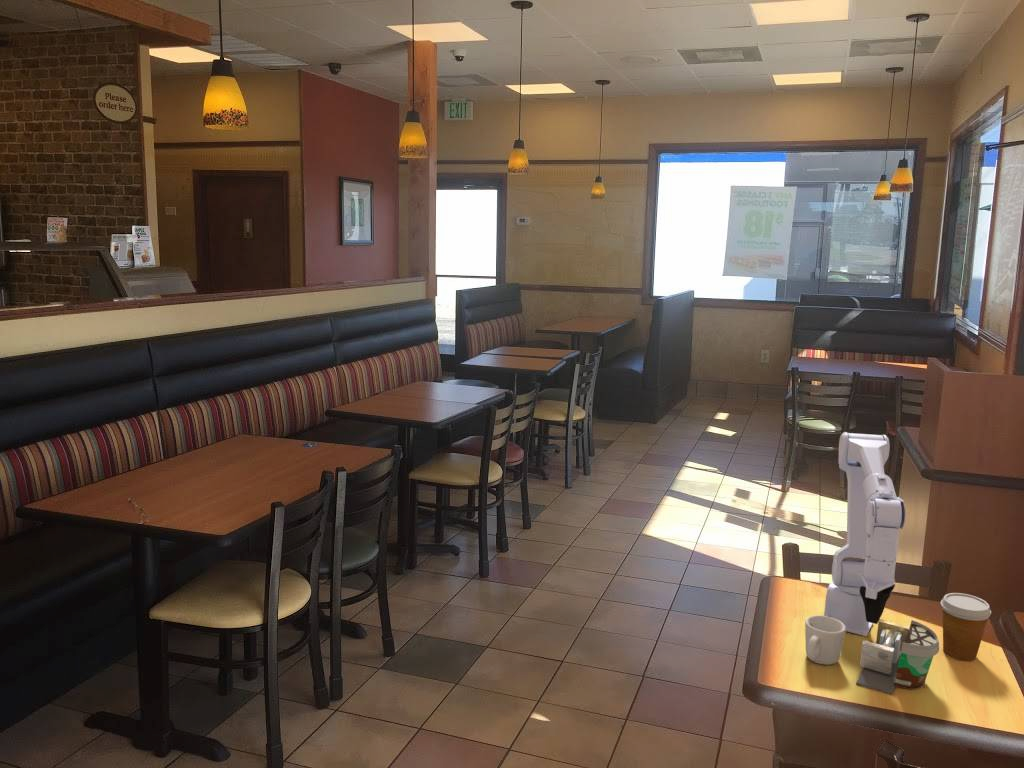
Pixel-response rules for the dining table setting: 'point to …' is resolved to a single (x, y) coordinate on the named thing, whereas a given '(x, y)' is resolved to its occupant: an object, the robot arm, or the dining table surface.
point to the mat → (879, 679)
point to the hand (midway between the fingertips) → (873, 619)
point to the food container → (916, 656)
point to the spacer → (892, 626)
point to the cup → (824, 639)
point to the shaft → (879, 654)
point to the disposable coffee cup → (963, 625)
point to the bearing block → (895, 645)
